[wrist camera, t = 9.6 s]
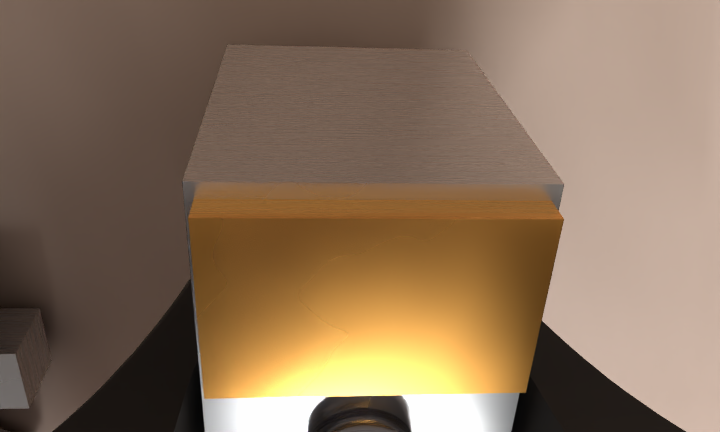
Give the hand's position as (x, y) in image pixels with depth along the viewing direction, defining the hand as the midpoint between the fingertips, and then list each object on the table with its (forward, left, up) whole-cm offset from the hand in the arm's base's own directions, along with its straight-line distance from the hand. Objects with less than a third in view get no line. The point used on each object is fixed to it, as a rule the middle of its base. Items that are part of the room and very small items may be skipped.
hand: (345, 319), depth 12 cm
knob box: (0, 0, -2) cm, 2 cm away
